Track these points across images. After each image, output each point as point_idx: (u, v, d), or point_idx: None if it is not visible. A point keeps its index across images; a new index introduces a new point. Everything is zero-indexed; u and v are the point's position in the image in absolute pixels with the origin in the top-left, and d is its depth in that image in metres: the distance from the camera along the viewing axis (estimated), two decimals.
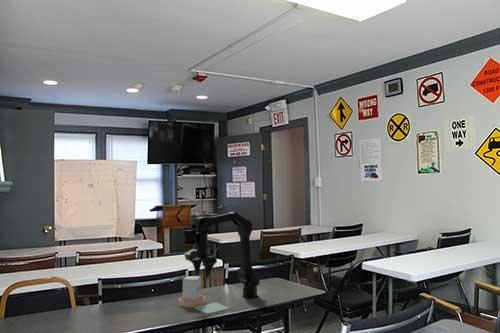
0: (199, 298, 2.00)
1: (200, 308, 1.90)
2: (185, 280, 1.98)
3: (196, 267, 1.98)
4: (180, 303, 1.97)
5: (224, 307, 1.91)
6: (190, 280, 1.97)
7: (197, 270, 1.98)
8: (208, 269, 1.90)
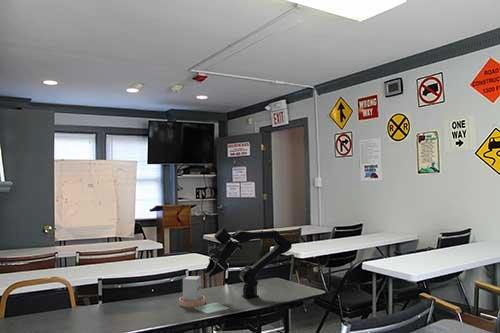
0: (199, 298, 2.00)
1: (200, 308, 1.90)
2: (185, 280, 1.98)
3: (209, 267, 2.09)
4: (180, 303, 1.97)
5: (224, 307, 1.91)
6: (190, 280, 1.97)
7: (207, 269, 2.08)
8: (215, 270, 1.99)
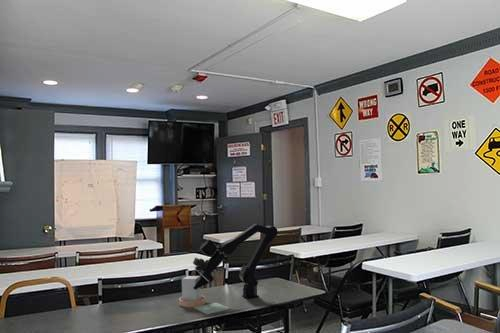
0: (199, 298, 2.00)
1: (200, 308, 1.90)
2: (184, 280, 1.98)
3: None
4: (180, 303, 1.97)
5: (224, 307, 1.91)
6: (189, 280, 1.98)
7: None
8: (200, 283, 1.96)
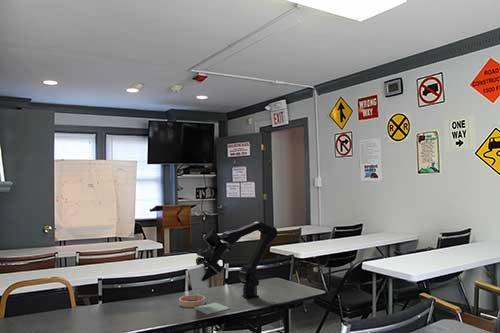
0: (207, 285, 1.96)
1: (200, 308, 1.90)
2: (191, 270, 1.92)
3: None
4: (180, 303, 1.97)
5: (224, 307, 1.91)
6: (197, 269, 1.92)
7: None
8: (208, 274, 1.92)
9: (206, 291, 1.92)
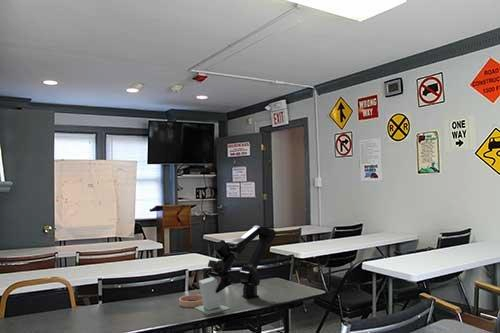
0: None
1: (200, 308, 1.90)
2: (206, 284, 1.87)
3: None
4: (180, 303, 1.97)
5: (224, 307, 1.91)
6: (211, 282, 1.88)
7: None
8: (222, 285, 1.89)
9: (220, 305, 1.88)
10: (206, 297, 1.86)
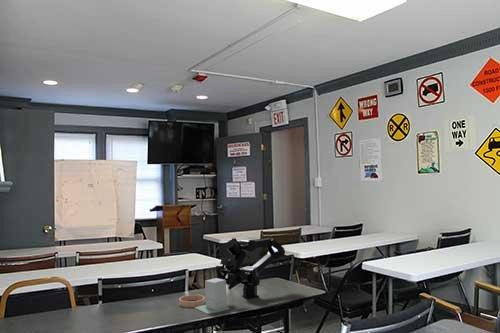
0: None
1: (200, 308, 1.90)
2: (217, 283, 1.88)
3: None
4: (180, 303, 1.97)
5: (224, 307, 1.91)
6: (221, 282, 1.90)
7: None
8: (235, 282, 1.95)
9: (225, 305, 1.91)
10: (216, 296, 1.87)
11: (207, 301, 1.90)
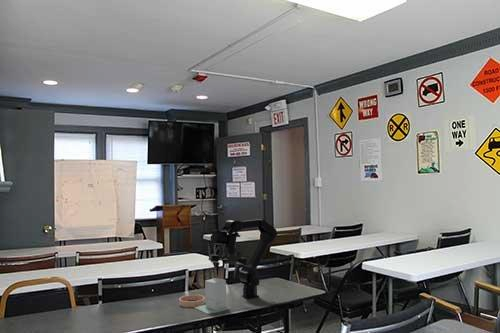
0: None
1: (200, 308, 1.90)
2: (217, 283, 1.88)
3: None
4: (180, 303, 1.97)
5: (224, 307, 1.91)
6: (221, 282, 1.90)
7: None
8: None
9: (225, 305, 1.91)
10: (216, 296, 1.87)
11: (207, 301, 1.90)
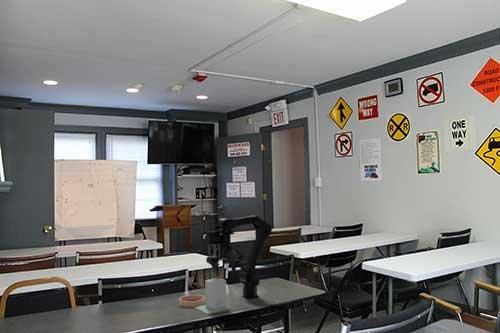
0: None
1: (200, 308, 1.90)
2: (217, 283, 1.88)
3: None
4: (180, 303, 1.97)
5: (224, 307, 1.91)
6: (221, 282, 1.90)
7: None
8: None
9: (225, 305, 1.91)
10: (216, 296, 1.87)
11: (207, 301, 1.90)
